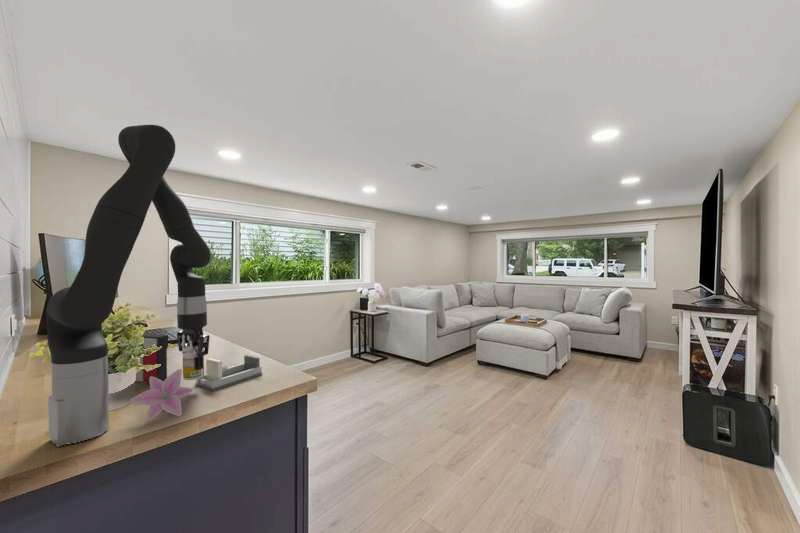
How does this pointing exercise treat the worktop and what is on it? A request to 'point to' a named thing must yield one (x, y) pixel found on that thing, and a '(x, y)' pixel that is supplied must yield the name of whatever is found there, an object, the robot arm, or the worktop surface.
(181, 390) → the lily
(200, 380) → the pusher lane
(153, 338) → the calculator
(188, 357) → the supplement bottle
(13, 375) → the worktop surface
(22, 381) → the worktop surface
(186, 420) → the worktop surface
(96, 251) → the robot arm
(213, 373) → the spring paddle
